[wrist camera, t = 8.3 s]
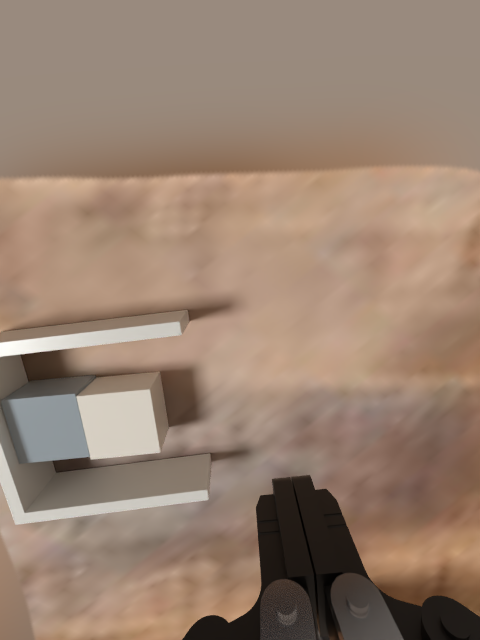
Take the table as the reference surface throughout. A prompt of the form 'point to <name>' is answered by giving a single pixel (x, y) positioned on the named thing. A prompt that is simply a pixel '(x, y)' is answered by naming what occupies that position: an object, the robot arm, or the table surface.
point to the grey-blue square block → (47, 419)
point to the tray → (103, 482)
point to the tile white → (124, 415)
